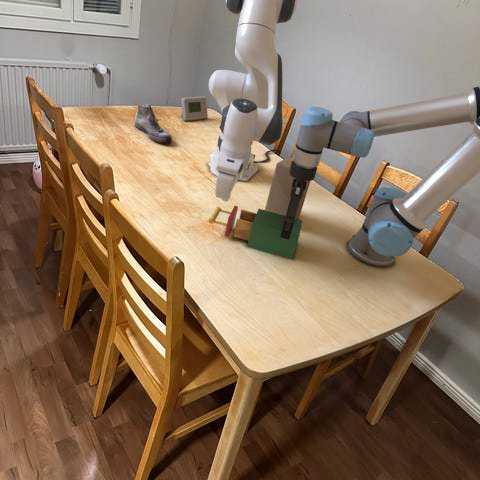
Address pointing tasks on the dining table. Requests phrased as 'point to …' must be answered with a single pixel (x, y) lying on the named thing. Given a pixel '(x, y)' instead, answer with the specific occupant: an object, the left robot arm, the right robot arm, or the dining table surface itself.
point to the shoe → (151, 124)
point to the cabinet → (273, 234)
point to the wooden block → (283, 190)
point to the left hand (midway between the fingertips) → (225, 199)
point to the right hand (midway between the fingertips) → (287, 227)
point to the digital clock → (194, 108)
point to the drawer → (242, 223)
